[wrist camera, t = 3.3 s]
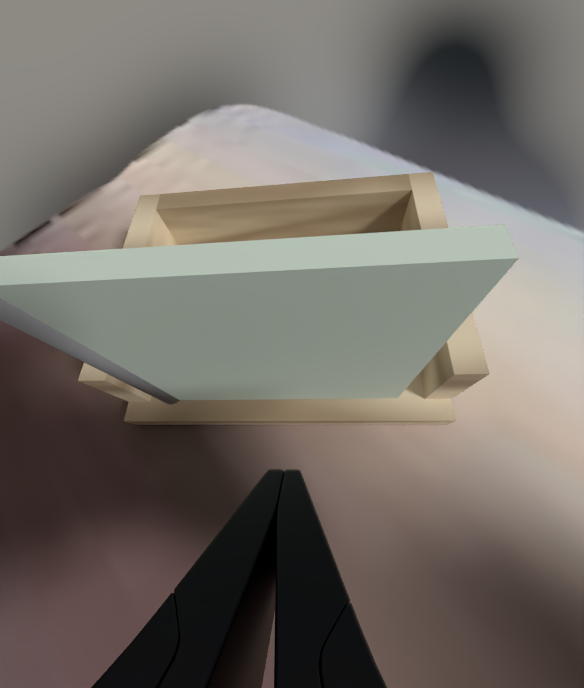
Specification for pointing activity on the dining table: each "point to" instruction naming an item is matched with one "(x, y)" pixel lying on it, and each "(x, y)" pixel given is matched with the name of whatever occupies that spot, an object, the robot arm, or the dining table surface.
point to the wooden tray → (293, 222)
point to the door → (260, 310)
